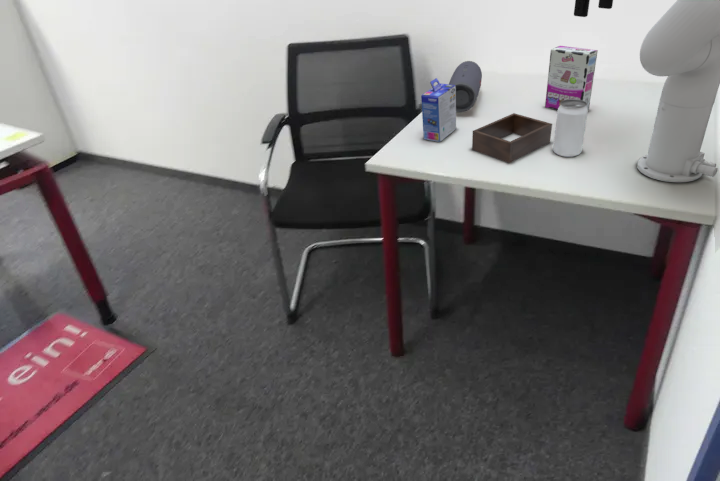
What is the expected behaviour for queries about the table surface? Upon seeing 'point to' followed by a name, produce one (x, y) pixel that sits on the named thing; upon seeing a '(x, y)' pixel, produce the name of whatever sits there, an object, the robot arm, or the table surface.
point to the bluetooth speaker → (466, 85)
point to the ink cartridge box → (439, 111)
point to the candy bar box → (570, 75)
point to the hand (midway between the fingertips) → (592, 12)
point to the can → (570, 127)
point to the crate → (508, 151)
